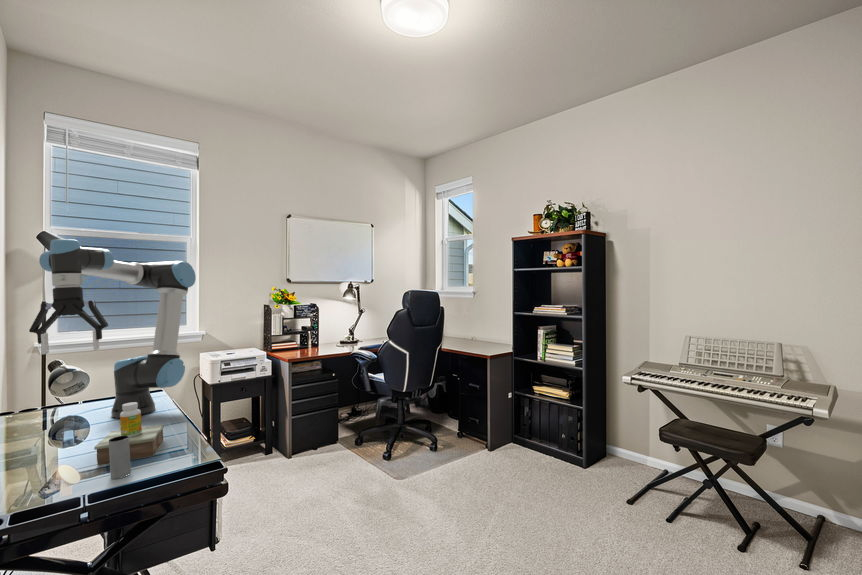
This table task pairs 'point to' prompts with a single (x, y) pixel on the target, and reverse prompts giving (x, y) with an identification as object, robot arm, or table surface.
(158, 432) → the podium
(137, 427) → the supplement bottle
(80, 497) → the table surface
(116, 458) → the grey hollow cylinder
